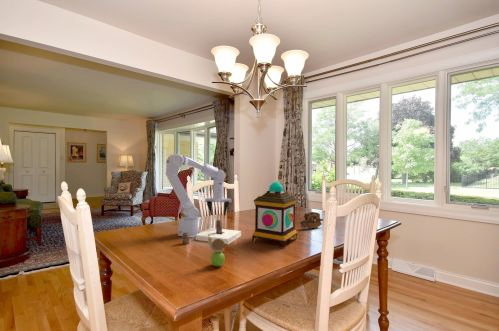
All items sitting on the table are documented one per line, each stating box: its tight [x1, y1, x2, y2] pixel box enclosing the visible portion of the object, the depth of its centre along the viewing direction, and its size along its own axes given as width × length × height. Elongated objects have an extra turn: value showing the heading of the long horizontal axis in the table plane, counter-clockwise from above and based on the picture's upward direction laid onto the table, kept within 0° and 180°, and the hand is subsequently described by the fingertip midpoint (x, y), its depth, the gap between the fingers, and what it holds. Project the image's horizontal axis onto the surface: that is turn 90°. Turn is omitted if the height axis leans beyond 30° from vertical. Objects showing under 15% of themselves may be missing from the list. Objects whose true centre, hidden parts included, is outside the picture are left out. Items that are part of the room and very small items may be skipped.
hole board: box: [195, 227, 242, 245], centre depth 136 cm, size 18×16×2 cm
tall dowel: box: [215, 219, 223, 234], centre depth 136 cm, size 3×3×9 cm
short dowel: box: [182, 232, 190, 246], centre depth 125 cm, size 3×3×5 cm
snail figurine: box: [208, 234, 226, 267], centre depth 99 cm, size 5×6×12 cm
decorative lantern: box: [251, 180, 298, 249], centre depth 132 cm, size 20×20×30 cm
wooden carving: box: [299, 211, 324, 229], centre depth 158 cm, size 16×5×10 cm, turn 120°
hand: (218, 215), depth 147 cm, fingers open, 7 cm apart
